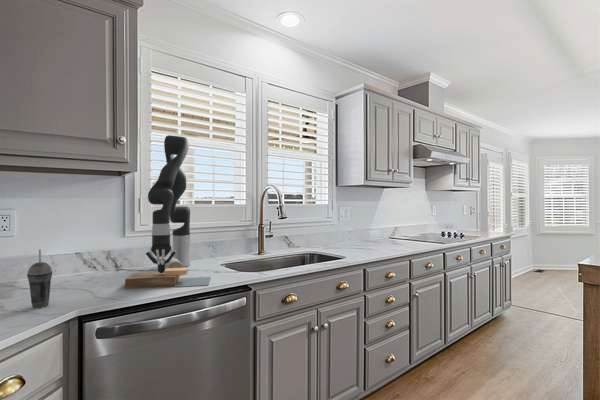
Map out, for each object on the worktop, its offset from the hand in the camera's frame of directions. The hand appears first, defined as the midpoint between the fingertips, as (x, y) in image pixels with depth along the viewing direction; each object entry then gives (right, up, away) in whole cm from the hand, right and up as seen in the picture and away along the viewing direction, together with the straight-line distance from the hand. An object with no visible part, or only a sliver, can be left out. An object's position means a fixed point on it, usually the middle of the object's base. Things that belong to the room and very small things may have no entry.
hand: (161, 272), depth 155 cm
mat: (+13, -5, +3) cm, 15 cm away
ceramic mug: (0, -5, +20) cm, 21 cm away
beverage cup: (-30, -5, -32) cm, 44 cm away
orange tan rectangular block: (+6, -1, +2) cm, 6 cm away
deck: (-3, -5, -1) cm, 6 cm away
